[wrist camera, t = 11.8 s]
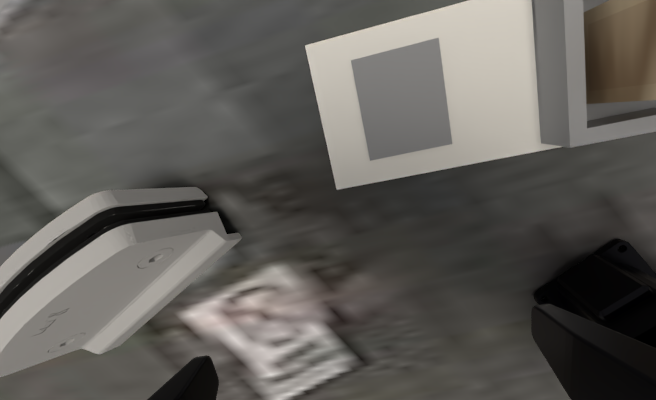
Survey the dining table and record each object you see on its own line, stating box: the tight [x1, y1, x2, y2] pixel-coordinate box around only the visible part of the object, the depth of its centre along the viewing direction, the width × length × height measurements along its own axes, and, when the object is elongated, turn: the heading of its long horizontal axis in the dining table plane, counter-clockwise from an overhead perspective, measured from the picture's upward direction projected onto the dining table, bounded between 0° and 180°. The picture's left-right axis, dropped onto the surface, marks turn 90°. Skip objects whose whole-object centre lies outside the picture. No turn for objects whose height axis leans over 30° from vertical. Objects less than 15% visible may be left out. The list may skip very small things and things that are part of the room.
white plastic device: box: [0, 187, 242, 377], centre depth 21 cm, size 17×5×10 cm, turn 132°
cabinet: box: [305, 0, 656, 190], centre depth 17 cm, size 9×24×4 cm, turn 103°
